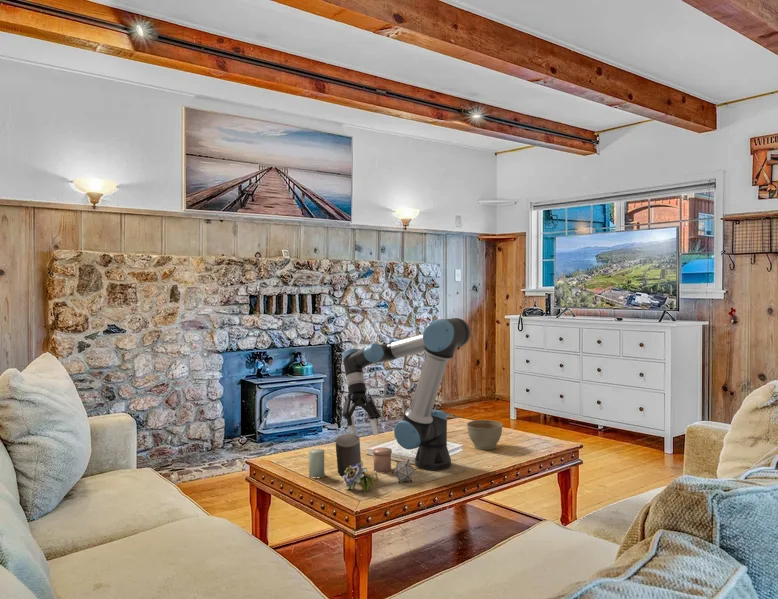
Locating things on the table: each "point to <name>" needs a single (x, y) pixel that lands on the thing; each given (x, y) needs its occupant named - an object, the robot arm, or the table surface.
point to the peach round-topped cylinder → (382, 459)
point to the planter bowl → (484, 433)
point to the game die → (404, 471)
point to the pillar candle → (347, 451)
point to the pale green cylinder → (316, 463)
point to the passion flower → (357, 476)
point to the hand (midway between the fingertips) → (364, 434)
